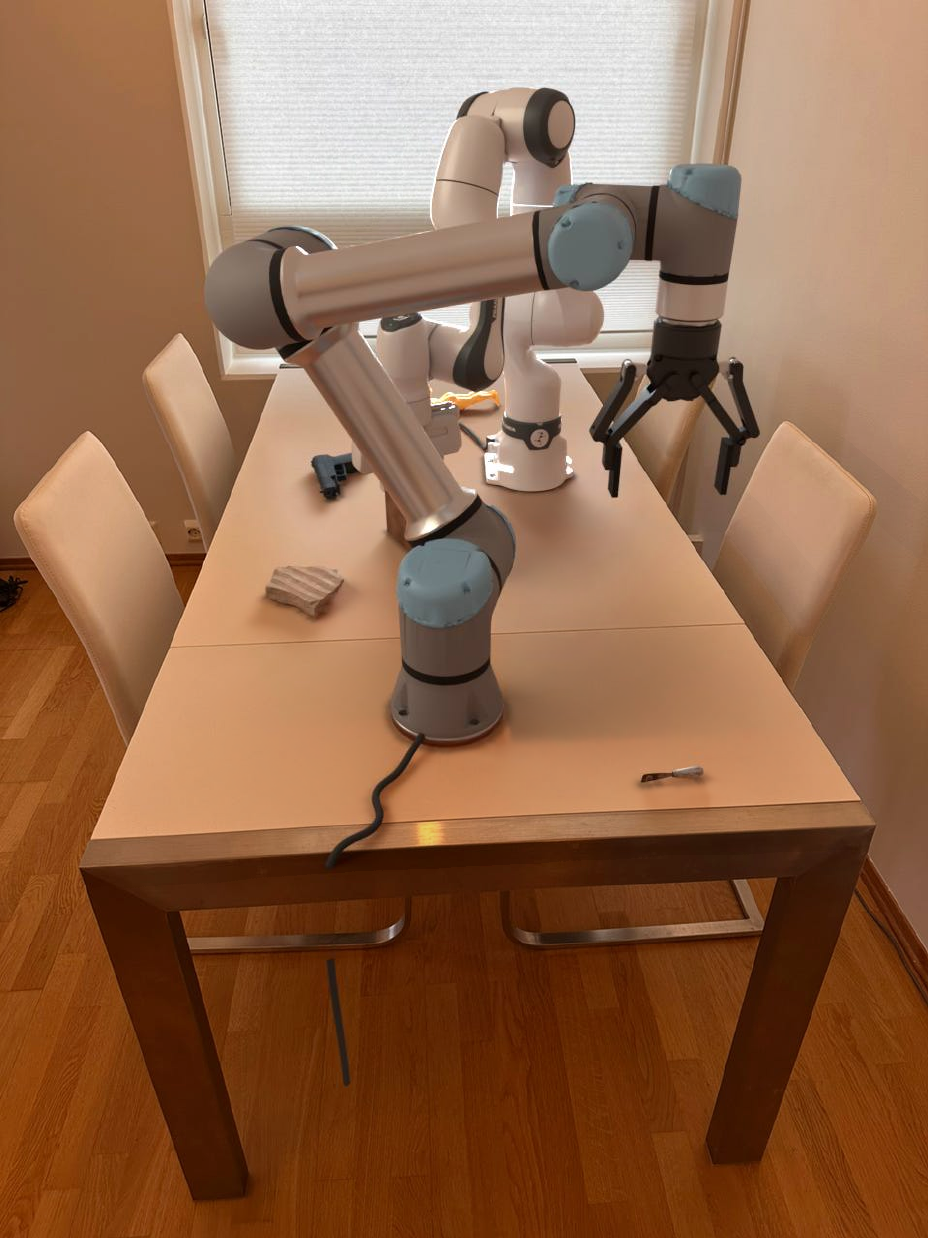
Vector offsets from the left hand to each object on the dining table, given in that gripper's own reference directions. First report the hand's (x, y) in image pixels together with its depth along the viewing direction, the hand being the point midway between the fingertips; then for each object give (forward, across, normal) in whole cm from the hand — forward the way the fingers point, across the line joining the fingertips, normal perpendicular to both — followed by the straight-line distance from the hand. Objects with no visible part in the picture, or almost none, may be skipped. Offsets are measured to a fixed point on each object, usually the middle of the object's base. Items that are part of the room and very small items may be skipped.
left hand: (666, 492), depth 112 cm
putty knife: (+29, +1, +21) cm, 36 cm away
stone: (+29, +51, -26) cm, 64 cm away
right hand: (+19, +33, -48) cm, 61 cm away
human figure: (+29, +23, -118) cm, 123 cm away
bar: (+29, +30, -40) cm, 58 cm away
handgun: (+29, +47, -74) cm, 92 cm away
